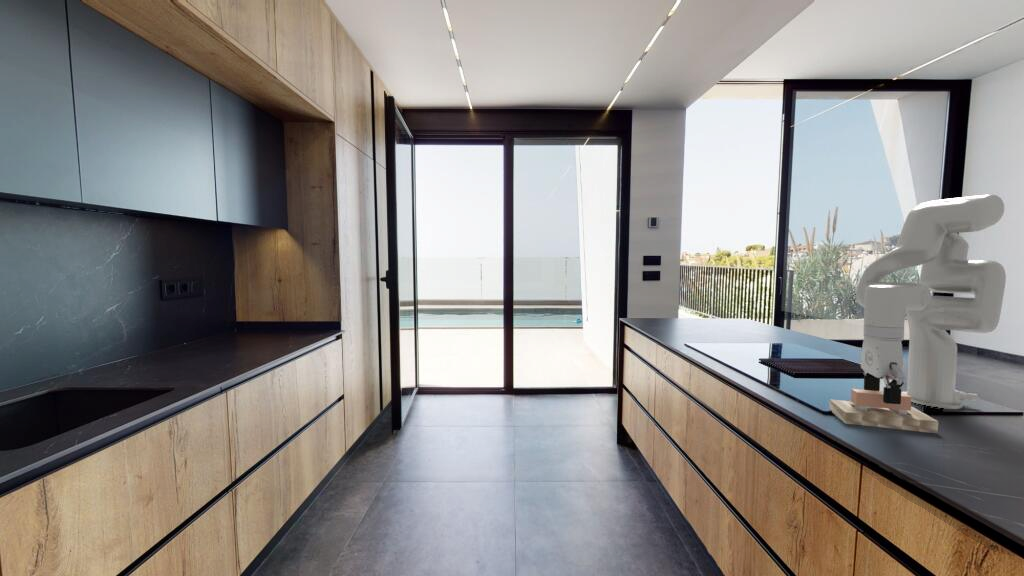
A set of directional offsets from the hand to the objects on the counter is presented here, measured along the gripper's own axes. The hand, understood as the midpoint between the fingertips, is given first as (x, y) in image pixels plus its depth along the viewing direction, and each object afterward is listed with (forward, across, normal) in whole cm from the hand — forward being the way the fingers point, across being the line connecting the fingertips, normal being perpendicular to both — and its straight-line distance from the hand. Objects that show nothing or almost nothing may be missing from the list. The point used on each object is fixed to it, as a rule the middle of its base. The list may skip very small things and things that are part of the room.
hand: (881, 396), depth 100 cm
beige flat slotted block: (+6, +1, 0) cm, 6 cm away
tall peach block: (+6, +1, 0) cm, 6 cm away
